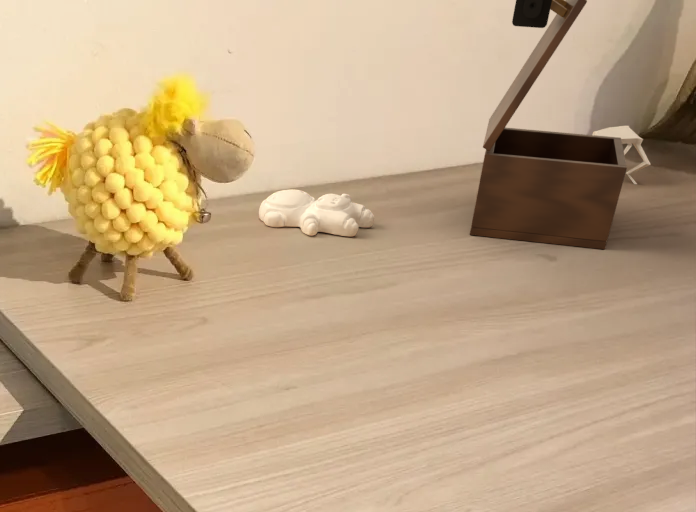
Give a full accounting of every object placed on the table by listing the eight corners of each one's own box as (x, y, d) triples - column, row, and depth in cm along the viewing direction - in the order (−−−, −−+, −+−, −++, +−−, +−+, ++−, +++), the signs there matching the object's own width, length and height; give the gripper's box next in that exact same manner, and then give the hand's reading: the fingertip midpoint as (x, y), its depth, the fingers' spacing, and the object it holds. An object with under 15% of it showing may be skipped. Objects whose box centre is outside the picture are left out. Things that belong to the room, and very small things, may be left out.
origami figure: (643, 192, 122) (656, 147, 118) (570, 183, 124) (581, 139, 121) (647, 168, 130) (659, 125, 127) (579, 160, 132) (589, 117, 129)
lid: (584, -16, 102) (546, -42, 102) (587, 1, 93) (545, -28, 92) (495, 123, 112) (459, 100, 111) (489, 151, 102) (450, 126, 102)
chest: (601, 214, 114) (621, 137, 110) (604, 249, 105) (627, 167, 100) (476, 201, 117) (491, 126, 112) (469, 235, 108) (484, 154, 103)
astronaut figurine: (342, 244, 104) (345, 213, 102) (243, 220, 109) (245, 190, 107) (382, 224, 110) (386, 194, 108) (286, 202, 115) (289, 173, 113)
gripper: (626, -217, 82) (570, 36, 93) (617, -212, 95) (569, 9, 106) (529, -220, 83) (485, 30, 94) (533, -215, 96) (494, 4, 107)
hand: (530, 18), depth 100 cm, fingers open, 8 cm apart
